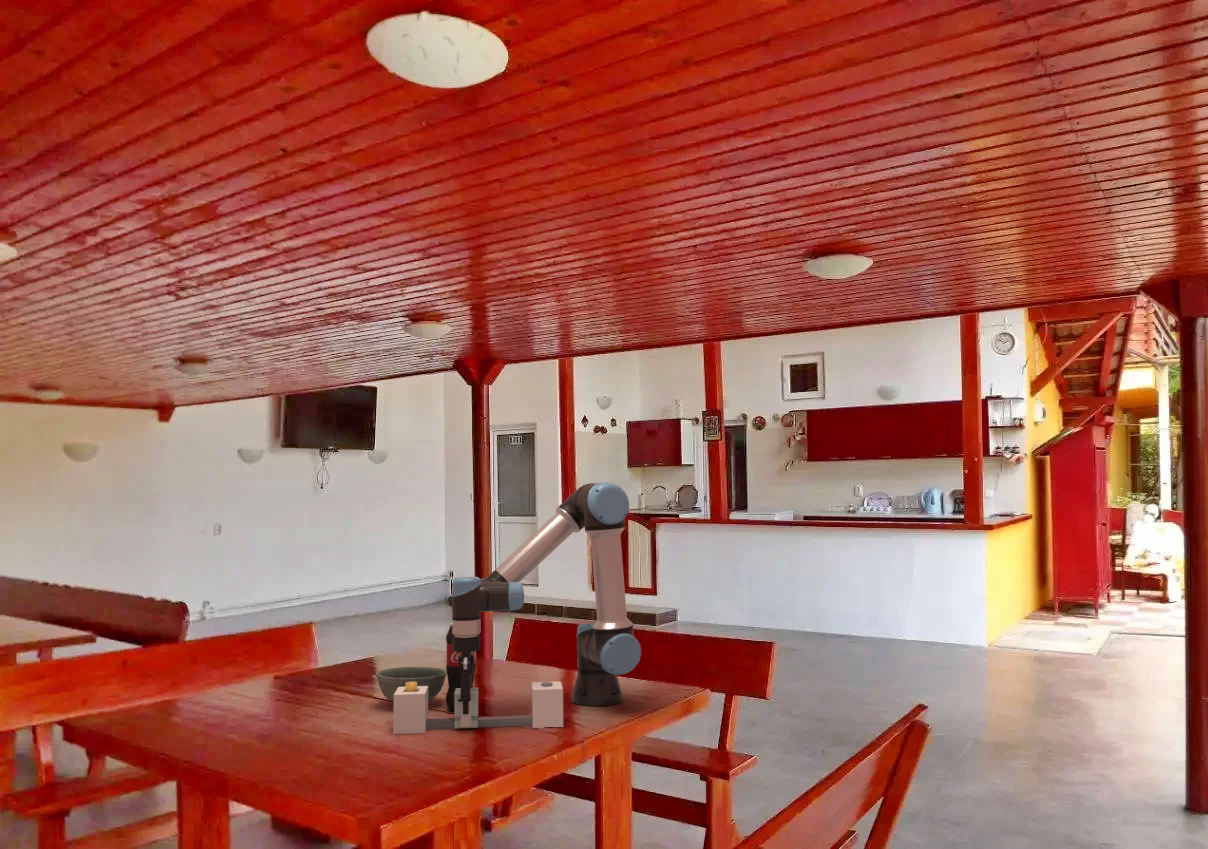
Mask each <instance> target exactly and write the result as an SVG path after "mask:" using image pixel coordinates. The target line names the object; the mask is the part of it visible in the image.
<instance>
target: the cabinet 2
mask: <svg viewBox="0 0 1208 849" xmlns="http://www.w3.org/2000/svg"><path fill="white" fill-rule="evenodd" d="M531 715H532V725H531V726H532V729H533V728H538V729H545V728H544V727H563V728H564V688H563V685H562V682H561V681H559V680H558V681H537V682H536V681H534V682H533V681H531Z"/></svg>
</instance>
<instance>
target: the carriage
mask: <svg viewBox="0 0 1208 849" xmlns="http://www.w3.org/2000/svg"><path fill="white" fill-rule="evenodd" d="M463 696H468V695H463ZM460 697H461V688H456V690H455V694H454V711H453V712H454V716H453V718H454V729H471V728H472V729H474V728H478V717H479V687H473V688H471V690H470V697H471V700H470V701H471V726H470V727H461V702H458V699H460Z"/></svg>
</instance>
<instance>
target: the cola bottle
mask: <svg viewBox="0 0 1208 849" xmlns="http://www.w3.org/2000/svg"><path fill="white" fill-rule="evenodd" d="M452 628H453V627H450V626H449V629H448V631H447V634H446V636H445V641H446V663H445V666H446V667H445V670H446V671H447V674H446V677H447V682H448V689H447V692H446V696H445V702H446V707H447V709H448V710H449V711H451V712H454V694H455V690H456V688H461V675H460V673H459V668H460V665H459V657H462V652H456V651H453V650H452V638H453V636H455V635H453V634H452ZM471 654H472V656H474V664H473V673H472V688H474V680H475V672H476V667H477V666H476V651H471Z"/></svg>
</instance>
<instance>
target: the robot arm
mask: <svg viewBox="0 0 1208 849" xmlns="http://www.w3.org/2000/svg"><path fill="white" fill-rule="evenodd" d="M629 501H630V500H629V496H628V495H627V493H626V492H625V490H624V489H623V488H622V487H620V486H619V485H617V484H615V483H612V482H611V483H610V482H604V481H603V482H597V483H590V482H589V483H586V484H583V485H582V486H580V487H578V488H577V489H575V491H573V493H571V494H570V495H569V496H568V497H567V498H566V499H565V500H564V501H563V502H562V503H561V504H560V505H559V506H558V507H556V511H555V514H554V515H553V516H551V518H549V519H548V520H547V521H546V522H545V523H544V524H543V525H542V526H541V527H540V528H539V529H537V531H535V533H533V535H530V537H529V538H528V539H526V541H525V542H523V543H522V544H521V545H520V546H519V547H518V548H517V549H516V550H515V551H513V553H511V554H510V556H508V557H507V558H506V559H505V560H504V561H503V562H502V563H501V564H500V565H499V566H497V568H495V569H494V570H493V571H492V572H491V573H490V574H489V575H487V576H486V577H483V578H481V579H480V577H478V576H459V577H458V576H457V577H456V578H454V579H453V580H452V588H451V614H452V617H451V618H452V621H451V622H450V623H449V628H450V627H453V628H452V634H453V635H455V636H453V638H452V650H453V651H456V652H462V657H459V665H460V668H459V673H460V675H461V697H460V699H458V702H461V727H470V726H471V701H470V700H471V697H470V690H471V688H472V673H473V664H474V656H472V654H471V651H475V652H476V651H479V650H481V636H480V634H481V631H482V630H481V625H482V624H481V612H482V613H483V612H484V613H486V612H499V611H501V612H502V611H503V612H504V611H509V612H510V611H516V610H521V609H522V608H523V607H524V606H523V605H524V603H525V590H524V586H523V585H522V583H520V582H522V580H523V579H525V578H526V577H527V576H528V575H529V574H530V573H531V572H532V571H533V570H534V569H535V568H537V567H538V565H540V563H542V562H543V561H544V560H545V559H546V558H547V557H548V556H550V554H551V553H553V551H555V550H556V549H557V548H558V547H559V546H560V545H561V544H562V543H564V542H565V540H567V539H568V538H569V537H570V536H571V535H573V533H579V532H580V531H581V530H582V529H584V532H585V533H586V534H587V535H588V536H589V537H590V544H591V546H590V547H591V555H592V556H591V557H592V558H591V560H592V569H593V570H592V571H593V579H594V580H593V583H594V595H595V607H596V608H595V610H596V621H595V622H587V623H586V622H585V623H580V624H578V626H577V630H576V632H577V633H576V651H577V652H576V660H577V661H576V662H577V665H576V666H577V675H576V679H575V682H574V685H573V688H572V692H571V702H572V703H573V704H577V705H582V706H588V707H589V706H590V707H599V706H601V707H602V706H609V705H610V706H611V705H617V704H620V703H621V702H623V691H622V688H621V683H620V681H619V678H618V675H619V676H621V675H625V674H629V673H630V672H631V671H633V670H634V669H635V668H636V666H637V665H638V664H639V662H640V660H641V656H642V648H641V644H640V643H639V641H638V639H637V638H636V637H635V635H634V624H633V622H632V621H631V620H630V619H629V618H628V614H627V600H626V592H625V591H626V589H625V578H624V576H625V575H624V563H623V552H622V542H621V541H622V540H621V536H622V535H621V534H622V533H623V531H624V530H625V529H626V525H625V522H626V521H625V518H626V517H627V515H628V514H629V509H630V502H629ZM463 695H468V696H463Z"/></svg>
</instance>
